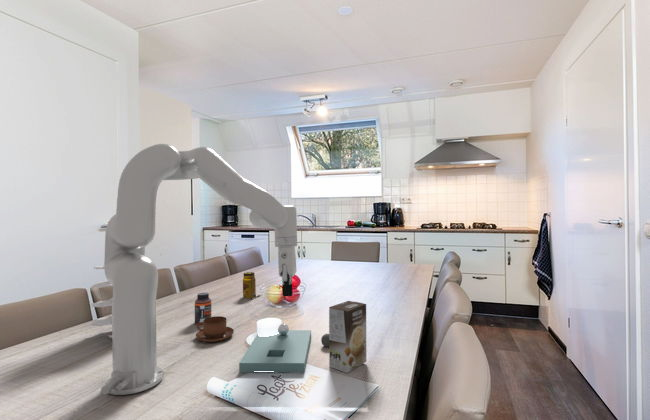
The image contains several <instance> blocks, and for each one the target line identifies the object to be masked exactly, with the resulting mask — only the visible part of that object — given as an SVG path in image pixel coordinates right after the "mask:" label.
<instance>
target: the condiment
mask: <svg viewBox="0 0 650 420" xmlns="http://www.w3.org/2000/svg"><path fill="white" fill-rule="evenodd" d="M242 274H243V276H242V277H243V278H242V298H243V299H244V298H245V299H244V300H253V299H254V300H255V299H257V298H258V297H260V296H261V294H256V291H257V290H256V275H255V272H253V271H246V272H244V273H242ZM256 295H258V296H257V298H256ZM251 298H253V299H251Z"/></svg>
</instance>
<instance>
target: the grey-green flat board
mask: <svg viewBox="0 0 650 420" xmlns="http://www.w3.org/2000/svg"><path fill="white" fill-rule="evenodd" d="M311 341H312V330H311V329H310V330H309V329H306V330H305V329H302V330H301V329H298V330H297V329H296V330H295V329H291V330H290V329H289V331H288V333H287V334H286V335H281V334H280V333H279V334H277V335H274V336H269V337H259V336H258V333H257V334H256V335H255V338H254V339H253V341H252V342H251V344H250V345H249V347H248V349H247V350H246V352H245V353H244V355H243V356H242V358H241V359H240V361H239V363H238V365H239V366H238V368H239V369H238V371H239V373H243V374H245V373H246V374H248V373H250V374H251V372H254V371H274V372H306V367H307V364H308V363H307V362H308V357H309V351H310V346H311Z"/></svg>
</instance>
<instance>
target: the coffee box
mask: <svg viewBox="0 0 650 420" xmlns="http://www.w3.org/2000/svg"><path fill="white" fill-rule="evenodd" d="M328 308H329V309H328V315H329V316H328V321H329V322H328V324H329V325H328V327H329V329H328V330H329V331H328V334H329V347H328V348H329V350H328V354H329V356H328V357H329V359H328V360H329V361H328V363H329V364H328V365H329V368H332V369H335V370H337V371H340V372H343V373H346V374H348V373H350V372H353V370H355V369H357V368H359V367H360V366H362V365H363V364H365V363H366V362H367V304H366V303H363V302H358V301H351V300H347V301H344V302H341V303H338V304H333V305H332V306H329V307H328Z"/></svg>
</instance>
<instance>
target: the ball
mask: <svg viewBox="0 0 650 420" xmlns="http://www.w3.org/2000/svg"><path fill="white" fill-rule="evenodd" d="M277 330H278V332H279V333H280V334H281V335H286V334H287V333H288V331H289V330H290V329H289V325H288V324H287V323H281V324H280V325H279V326H278V328H277Z"/></svg>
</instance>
